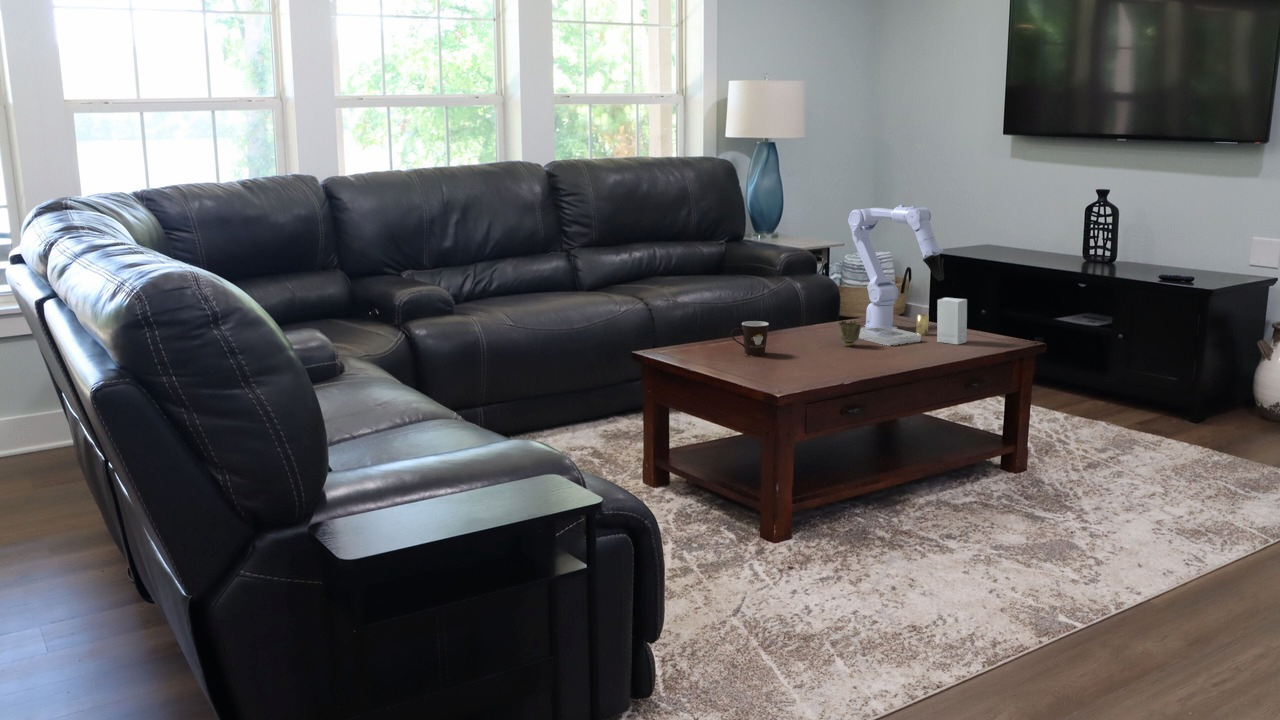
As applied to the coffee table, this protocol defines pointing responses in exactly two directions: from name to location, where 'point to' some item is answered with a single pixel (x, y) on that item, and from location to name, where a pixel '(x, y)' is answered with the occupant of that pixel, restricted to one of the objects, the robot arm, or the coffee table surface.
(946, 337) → the skincare box
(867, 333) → the jig plate
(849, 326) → the cup
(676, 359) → the coffee table surface
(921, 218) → the robot arm
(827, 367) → the coffee table surface
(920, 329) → the brass sleeve
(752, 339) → the coffee mug
